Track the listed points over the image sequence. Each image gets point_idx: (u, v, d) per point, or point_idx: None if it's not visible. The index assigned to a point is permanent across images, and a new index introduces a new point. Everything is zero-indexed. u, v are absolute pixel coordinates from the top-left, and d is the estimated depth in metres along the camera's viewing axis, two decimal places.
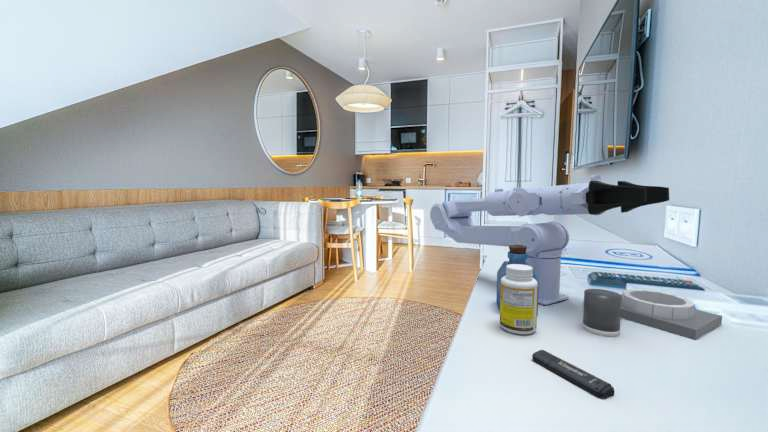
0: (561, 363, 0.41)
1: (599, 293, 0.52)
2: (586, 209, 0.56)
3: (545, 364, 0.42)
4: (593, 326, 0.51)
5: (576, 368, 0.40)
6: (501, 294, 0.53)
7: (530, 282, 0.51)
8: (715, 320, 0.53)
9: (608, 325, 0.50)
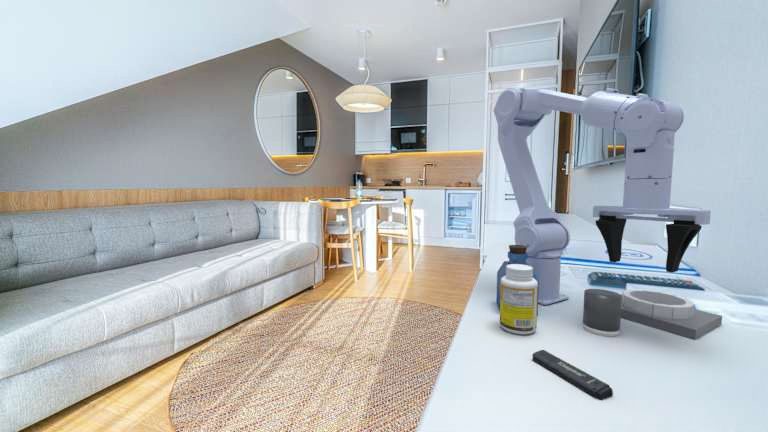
0: (561, 363, 0.41)
1: (599, 293, 0.53)
2: None
3: (544, 364, 0.42)
4: (593, 326, 0.51)
5: (575, 368, 0.40)
6: (501, 294, 0.53)
7: (530, 282, 0.51)
8: (715, 320, 0.53)
9: (608, 325, 0.50)
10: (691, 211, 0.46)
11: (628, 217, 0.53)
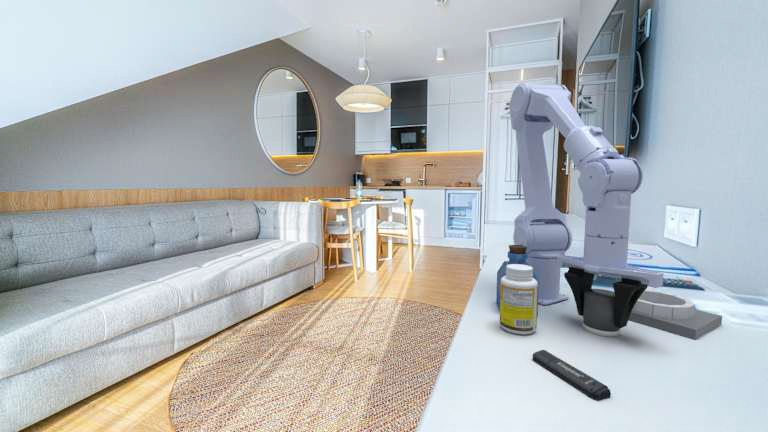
0: (560, 363, 0.41)
1: (599, 293, 0.52)
2: None
3: (544, 364, 0.42)
4: (593, 326, 0.51)
5: (574, 369, 0.39)
6: (501, 294, 0.53)
7: (530, 282, 0.51)
8: (715, 320, 0.53)
9: (608, 325, 0.50)
10: (644, 273, 0.46)
11: (589, 271, 0.54)
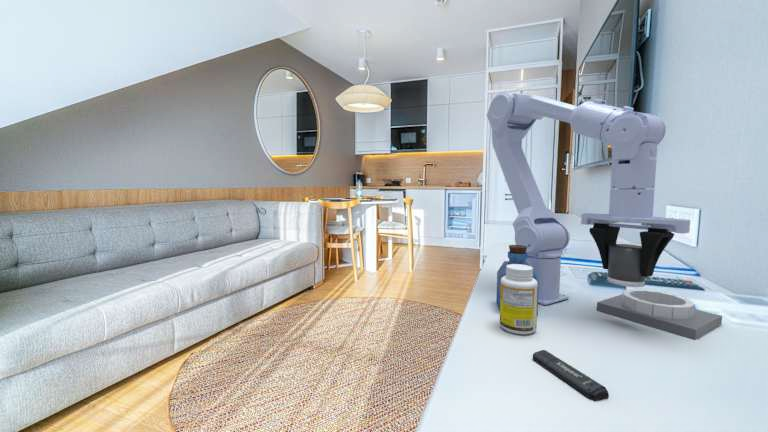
0: (560, 363, 0.41)
1: (624, 246, 0.54)
2: None
3: (543, 364, 0.42)
4: (618, 277, 0.53)
5: (573, 369, 0.39)
6: (501, 294, 0.53)
7: (530, 282, 0.51)
8: (715, 320, 0.53)
9: (633, 275, 0.52)
10: (671, 220, 0.48)
11: (614, 225, 0.55)
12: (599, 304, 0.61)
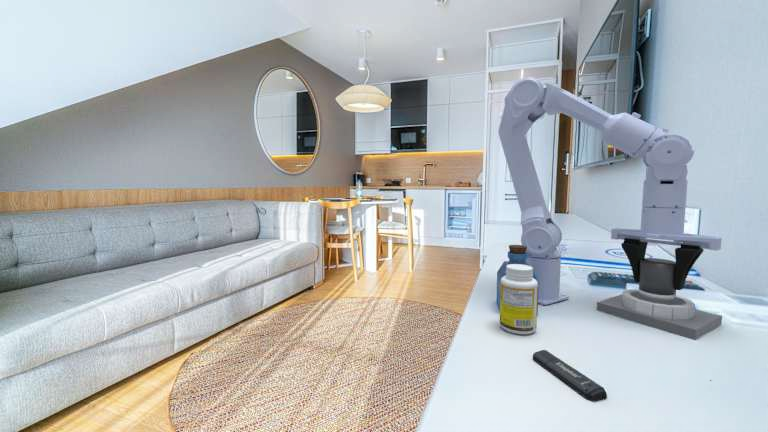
0: (559, 364, 0.41)
1: (655, 261, 0.57)
2: None
3: (543, 364, 0.42)
4: (652, 291, 0.56)
5: (572, 370, 0.39)
6: (501, 294, 0.53)
7: (530, 282, 0.51)
8: (715, 320, 0.53)
9: (666, 289, 0.55)
10: (705, 238, 0.51)
11: (645, 240, 0.59)
12: (599, 304, 0.61)
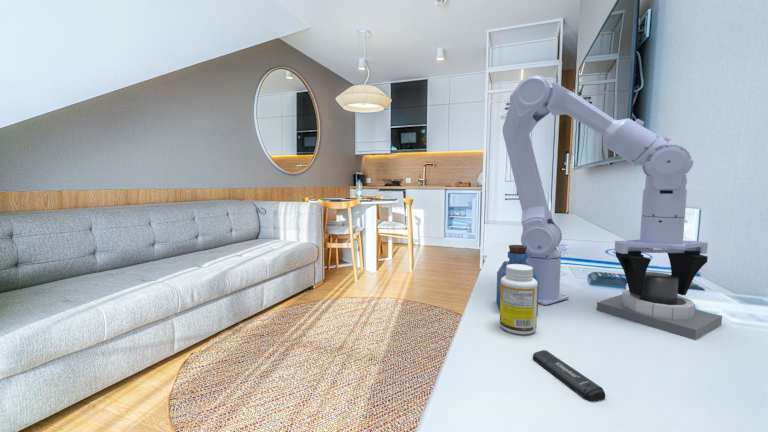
0: (559, 364, 0.41)
1: (659, 276, 0.57)
2: None
3: (543, 364, 0.42)
4: None
5: (572, 370, 0.39)
6: (501, 294, 0.53)
7: (530, 282, 0.51)
8: (715, 320, 0.53)
9: (676, 302, 0.56)
10: (700, 243, 0.56)
11: (649, 251, 0.57)
12: (599, 304, 0.61)
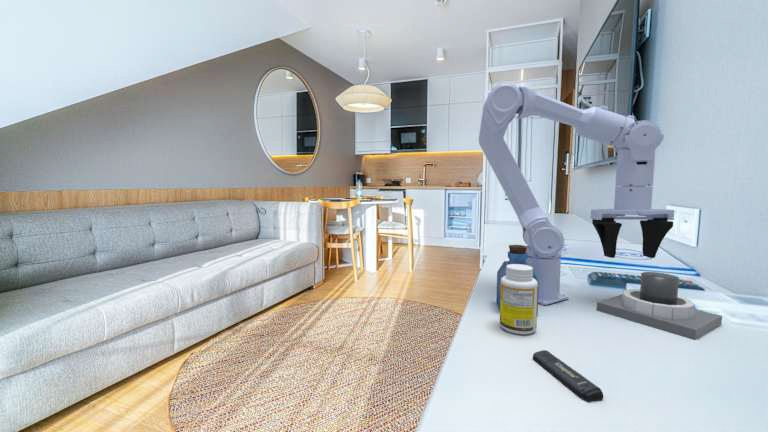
0: (558, 364, 0.41)
1: (659, 276, 0.57)
2: None
3: (542, 363, 0.42)
4: None
5: (571, 370, 0.39)
6: (501, 294, 0.53)
7: (530, 282, 0.51)
8: (715, 320, 0.53)
9: (676, 302, 0.56)
10: (667, 210, 0.62)
11: (621, 218, 0.63)
12: (599, 304, 0.61)
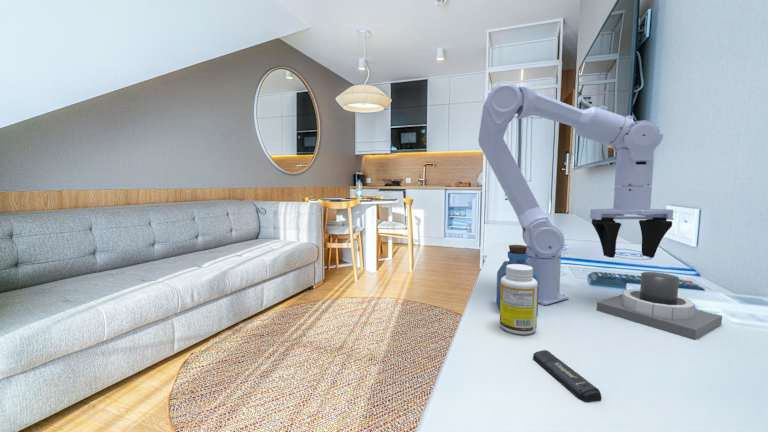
0: (558, 364, 0.41)
1: (659, 276, 0.57)
2: None
3: (542, 363, 0.42)
4: None
5: (570, 370, 0.39)
6: (501, 294, 0.53)
7: (530, 282, 0.51)
8: (715, 320, 0.53)
9: (676, 302, 0.56)
10: (666, 210, 0.62)
11: (621, 218, 0.63)
12: (599, 304, 0.61)
